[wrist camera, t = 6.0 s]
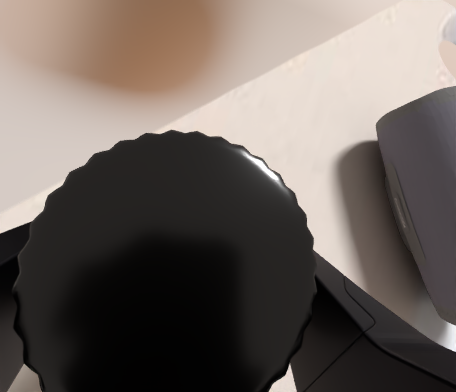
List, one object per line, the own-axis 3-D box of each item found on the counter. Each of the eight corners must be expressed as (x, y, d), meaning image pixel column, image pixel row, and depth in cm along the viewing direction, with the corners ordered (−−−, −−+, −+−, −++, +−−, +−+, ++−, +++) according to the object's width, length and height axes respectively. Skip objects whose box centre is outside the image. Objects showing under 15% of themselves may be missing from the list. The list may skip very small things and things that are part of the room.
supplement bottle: (248, 272, 15) (435, 347, 4) (157, 323, 13) (-11, 780, 2) (209, 189, 16) (266, 50, 5) (119, 226, 14) (-146, 144, 3)
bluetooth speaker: (460, 294, 26) (617, 323, 17) (403, 312, 24) (546, 356, 15) (402, 132, 31) (499, 81, 21) (349, 135, 29) (432, 80, 19)
